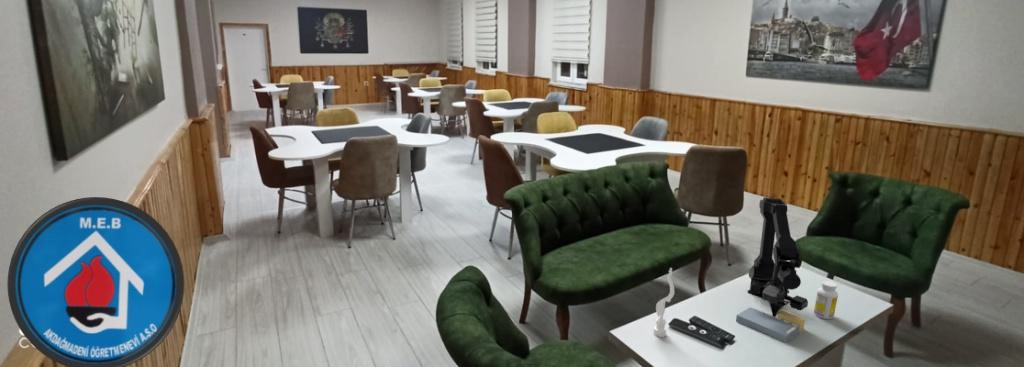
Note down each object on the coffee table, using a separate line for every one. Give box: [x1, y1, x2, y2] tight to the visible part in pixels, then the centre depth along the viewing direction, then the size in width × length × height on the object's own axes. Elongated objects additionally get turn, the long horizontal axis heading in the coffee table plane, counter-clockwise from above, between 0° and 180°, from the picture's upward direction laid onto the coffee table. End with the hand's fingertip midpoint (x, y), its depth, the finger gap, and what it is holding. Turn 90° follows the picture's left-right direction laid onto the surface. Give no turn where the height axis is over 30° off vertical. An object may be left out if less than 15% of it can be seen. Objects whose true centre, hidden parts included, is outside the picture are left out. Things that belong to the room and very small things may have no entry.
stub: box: [776, 309, 806, 333], centre depth 199 cm, size 8×4×4 cm, turn 40°
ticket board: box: [735, 306, 800, 343], centre depth 198 cm, size 18×10×3 cm, turn 40°
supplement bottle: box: [813, 280, 839, 320], centre depth 207 cm, size 7×7×13 cm
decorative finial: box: [653, 267, 675, 338], centre depth 188 cm, size 6×4×25 cm
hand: (774, 316), depth 204 cm, fingers closed
